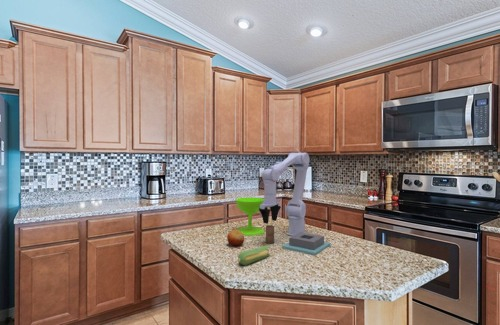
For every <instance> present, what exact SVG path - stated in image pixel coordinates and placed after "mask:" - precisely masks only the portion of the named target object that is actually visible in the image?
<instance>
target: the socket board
mask: <svg viewBox="0 0 500 325" xmlns="http://www.w3.org/2000/svg"><path fill="white" fill-rule="evenodd" d="M331 244H332V243H331V242H329V241H325V236H324V235H319V234H313V233H309V232H308V233H307V232H306V233H302V232H300V233H298V234H296V235H294V236H290V237H289V240H288V242H287V243H285V244H283V245H281V249H284V250H289V251H294V252H298V253H303V254H307V255H312V256H316V255H318V254H320V253H321V252H322V251H324V250H325V249H327V248H328V247H330V246H331Z"/></svg>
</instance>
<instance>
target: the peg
mask: <svg viewBox="0 0 500 325" xmlns="http://www.w3.org/2000/svg"><path fill="white" fill-rule="evenodd" d="M265 243H266V244H268V245H273V244H275V226H274V225H270V224H269V225H268V224H267V225H266V226H265Z"/></svg>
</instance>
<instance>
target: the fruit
mask: <svg viewBox="0 0 500 325" xmlns="http://www.w3.org/2000/svg"><path fill="white" fill-rule="evenodd" d="M226 238H227V242H228V243H227V244H228V245H230V246H233V247H234V248H235V247H239V246H241V245H242V244H244V243H245V235H243V233H241V231H238V230H237V229H232V230H230V231H229V232H228V234H227V236H226Z"/></svg>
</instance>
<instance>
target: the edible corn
mask: <svg viewBox="0 0 500 325" xmlns="http://www.w3.org/2000/svg"><path fill="white" fill-rule="evenodd" d="M270 247H271V244H268V245H264V246H261V247H257V248H252V249H248V250H242V251H241V252H239V253H238V256H237V258H238V259H237V262H238V264H240V265H243V266H247V265H250V264H252V263H254V262H255V263H256V262H258V261H260V260H262V259H265V258H269V257H270V255H269V252H270V250H269V249H270Z"/></svg>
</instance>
